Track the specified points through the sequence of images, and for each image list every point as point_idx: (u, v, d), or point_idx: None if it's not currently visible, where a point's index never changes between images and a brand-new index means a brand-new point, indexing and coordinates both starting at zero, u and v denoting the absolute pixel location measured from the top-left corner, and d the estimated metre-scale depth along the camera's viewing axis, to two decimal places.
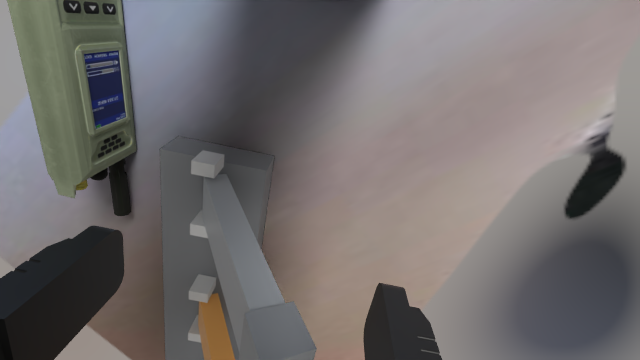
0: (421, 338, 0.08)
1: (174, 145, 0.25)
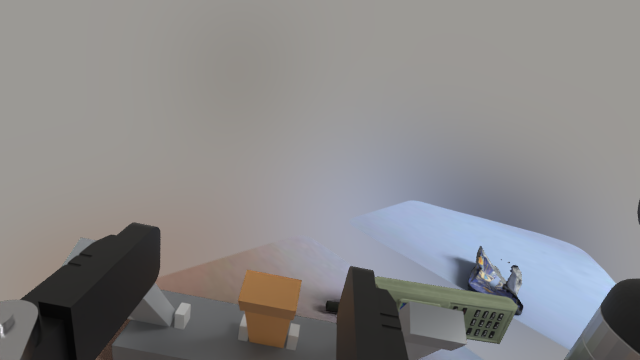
0: (385, 316, 0.09)
1: None
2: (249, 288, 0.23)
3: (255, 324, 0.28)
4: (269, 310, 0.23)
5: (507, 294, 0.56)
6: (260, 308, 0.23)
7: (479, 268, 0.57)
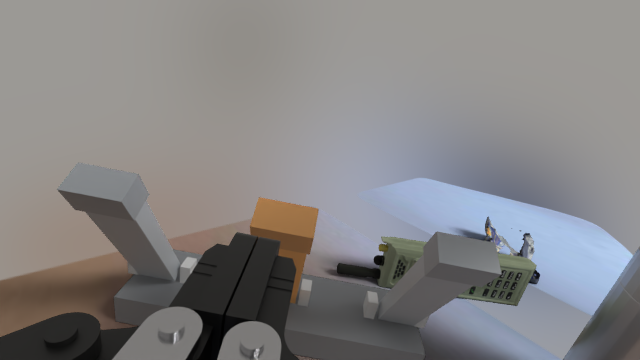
0: (280, 280, 0.09)
1: None
2: (262, 215, 0.21)
3: None
4: (283, 240, 0.21)
5: None
6: (274, 237, 0.21)
7: (490, 239, 0.55)
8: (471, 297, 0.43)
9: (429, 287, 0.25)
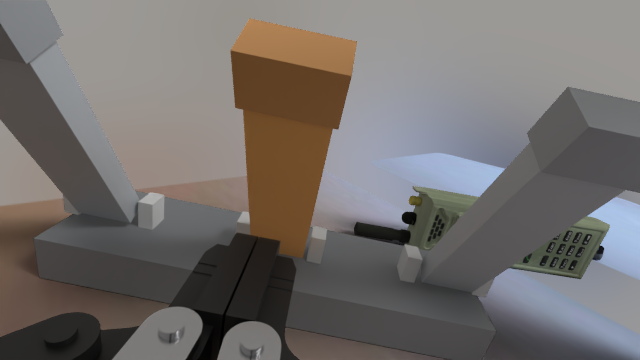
0: (280, 280, 0.09)
1: None
2: (254, 39, 0.11)
3: (262, 180, 0.16)
4: (294, 89, 0.11)
5: None
6: (276, 83, 0.11)
7: None
8: (525, 267, 0.34)
9: (531, 206, 0.15)
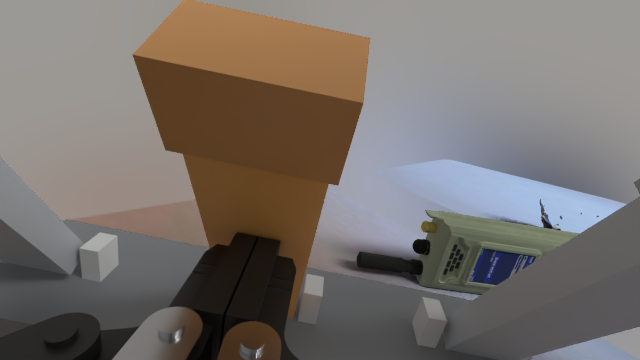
0: (280, 279, 0.09)
1: None
2: (185, 34, 0.06)
3: (229, 241, 0.11)
4: (259, 123, 0.06)
5: None
6: (226, 113, 0.06)
7: None
8: None
9: (632, 290, 0.10)
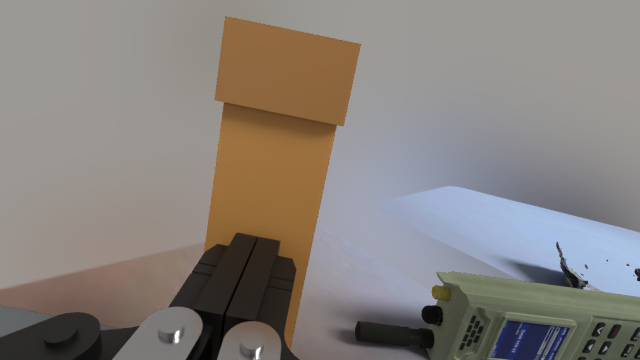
0: (280, 280, 0.09)
1: None
2: None
3: (228, 243, 0.11)
4: (293, 66, 0.10)
5: None
6: (272, 59, 0.10)
7: (584, 283, 0.33)
8: None
9: None
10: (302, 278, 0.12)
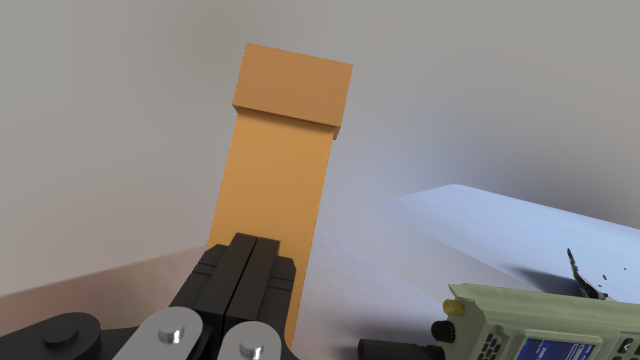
0: (280, 280, 0.09)
1: None
2: None
3: (231, 238, 0.12)
4: (299, 79, 0.12)
5: None
6: (282, 74, 0.12)
7: (604, 296, 0.30)
8: None
9: None
10: (303, 274, 0.12)
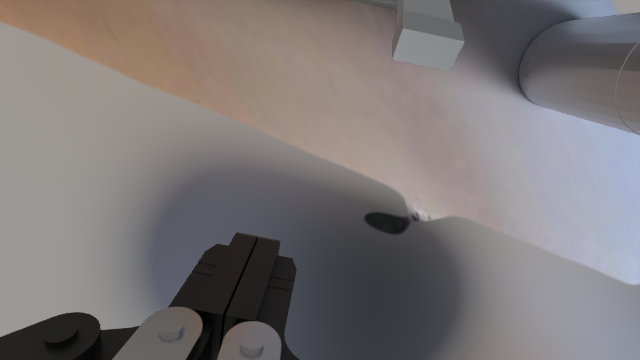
0: (280, 280, 0.09)
1: None
2: None
3: None
4: None
5: None
6: None
7: None
8: None
9: None
10: None
